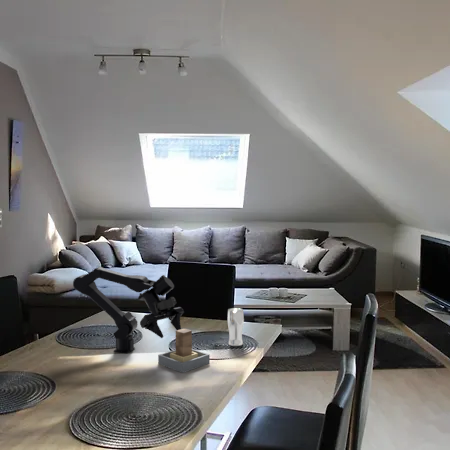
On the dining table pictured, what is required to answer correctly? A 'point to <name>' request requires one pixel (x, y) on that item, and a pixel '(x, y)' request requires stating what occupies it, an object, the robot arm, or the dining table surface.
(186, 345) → the post
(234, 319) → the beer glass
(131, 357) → the dining table surface
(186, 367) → the housing
